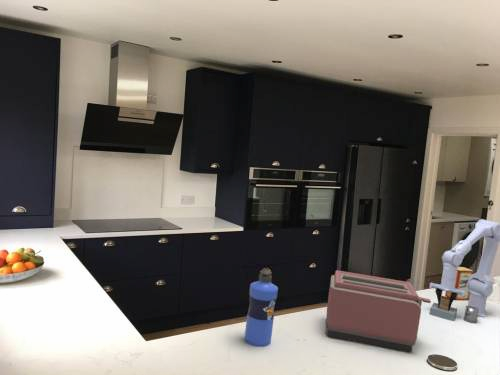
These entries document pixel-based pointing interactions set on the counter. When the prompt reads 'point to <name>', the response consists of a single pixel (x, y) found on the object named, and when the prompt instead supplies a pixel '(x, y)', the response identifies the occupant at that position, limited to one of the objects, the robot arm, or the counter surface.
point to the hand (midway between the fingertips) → (444, 307)
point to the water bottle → (261, 310)
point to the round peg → (471, 314)
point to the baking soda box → (462, 282)
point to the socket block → (443, 312)
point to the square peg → (444, 303)
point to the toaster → (373, 311)
